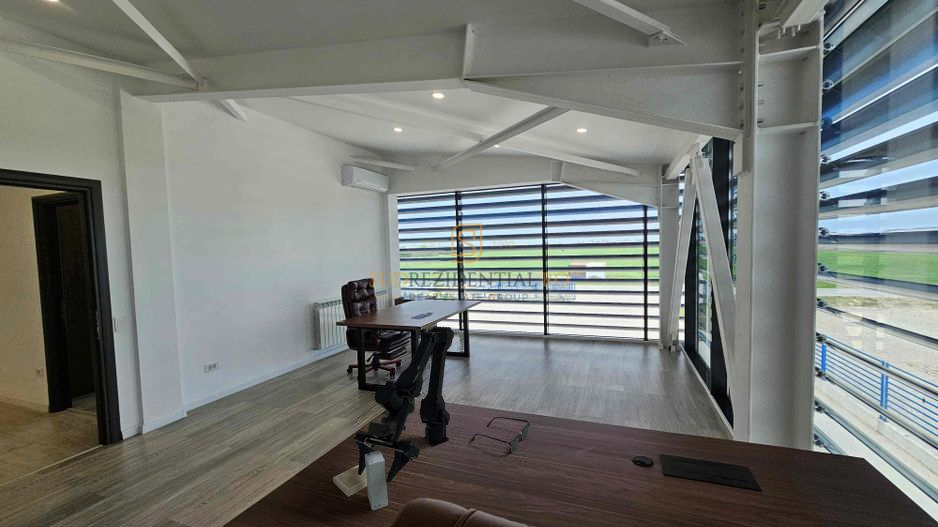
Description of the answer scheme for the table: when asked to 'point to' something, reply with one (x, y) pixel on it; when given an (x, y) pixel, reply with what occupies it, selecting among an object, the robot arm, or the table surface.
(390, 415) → the robot arm
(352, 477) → the plinth
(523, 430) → the sunglasses
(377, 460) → the skincare box
